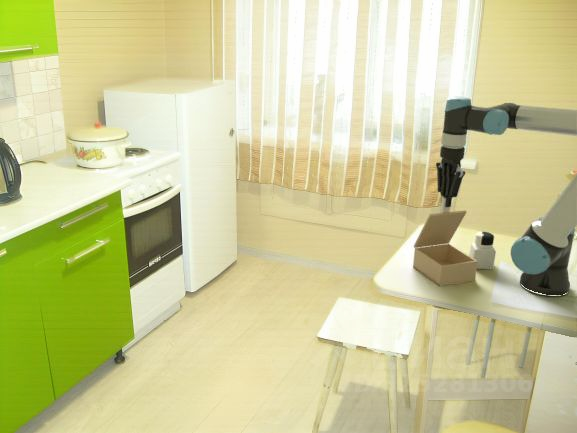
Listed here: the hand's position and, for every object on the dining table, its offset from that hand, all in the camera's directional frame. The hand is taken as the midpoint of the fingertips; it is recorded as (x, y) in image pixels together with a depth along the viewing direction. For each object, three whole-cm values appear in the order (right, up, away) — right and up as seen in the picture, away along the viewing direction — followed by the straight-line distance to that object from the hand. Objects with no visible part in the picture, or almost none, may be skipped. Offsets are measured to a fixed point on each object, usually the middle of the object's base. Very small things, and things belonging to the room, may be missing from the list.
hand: (444, 215), depth 205 cm
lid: (-1, -5, +3) cm, 6 cm away
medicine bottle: (+16, -18, +12) cm, 27 cm away
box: (+1, -20, +4) cm, 20 cm away
